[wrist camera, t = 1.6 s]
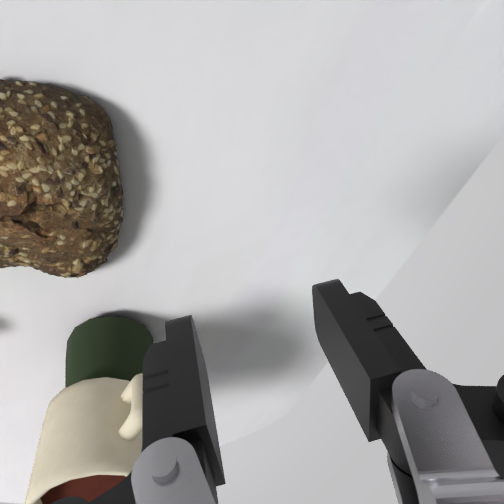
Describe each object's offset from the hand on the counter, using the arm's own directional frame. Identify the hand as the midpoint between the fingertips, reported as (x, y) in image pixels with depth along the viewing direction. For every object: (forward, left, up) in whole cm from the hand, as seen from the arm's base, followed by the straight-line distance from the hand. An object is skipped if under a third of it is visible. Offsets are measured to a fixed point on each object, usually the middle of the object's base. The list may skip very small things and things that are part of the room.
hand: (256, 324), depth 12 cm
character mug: (+10, +14, -17) cm, 24 cm away
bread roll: (+11, 0, -18) cm, 21 cm away
